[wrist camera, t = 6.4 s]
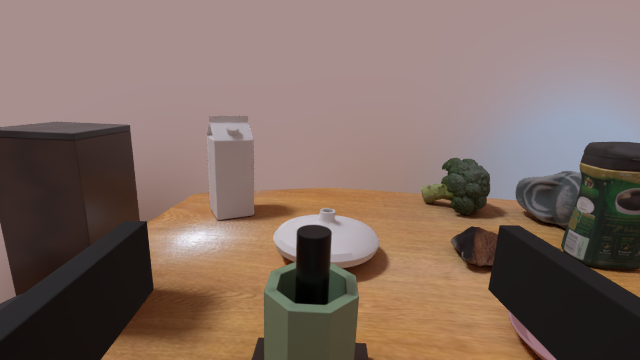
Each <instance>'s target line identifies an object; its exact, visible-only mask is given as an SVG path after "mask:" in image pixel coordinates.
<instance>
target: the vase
mask: <svg viewBox="0 0 640 360" xmlns="http://www.w3.org/2000/svg"><path fill="white" fill-rule="evenodd" d="M305 225H321V226H325V227H327V228H329V229H330V230H331V232H332V240H331V260H330V262H331V263H333V264H335V265H336V266H338V267H340V268H346V267H352V266H356V265H359V264H362V263H364V262H366V261H368V260H369V259H371V258H372V257H373V255H374V254H375V253H376V251H377V249H378V247H379V239H378V237H377V235H376V233H375V232H374V231H373V229H371V228H370V227H369V226H368V225H366V224H364V223H362V222H360V221H357V220H355V219H352V218H347V217H343V216H336V215H335V210H334V209H330V208H323V209H321V210H320V215H306V216H301V217H296V218H293V219H290V220H288V221H286V222H285V223H283V224H282V225H281V226H280V227H279V228H278V229H277V230H276V232H275V233H274V237H273V239H274V242H275V245H276V247H277V250H278V252H279V253H280V254H282V255H283V256H284V257H285V258H287V259H289V260H291V261H293V262H296V238H297V230H298V228H300V227H302V226H305Z"/></svg>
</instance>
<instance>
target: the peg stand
mask: <svg viewBox="0 0 640 360" xmlns="http://www.w3.org/2000/svg"><path fill="white" fill-rule="evenodd" d="M331 240H332V232H331V230H330V229H329V228H327V227H325V226H321V225H305V226H302V227H300V228H298V230H297V238H296V282H295V304H313V305H327V304H328V299H329V279H330V260H331ZM252 360H264V338H258V341H257V344H256V347H255V351H254V354H253V357H252ZM354 360H368V354H367V347H366V344H365V343H355V353H354Z"/></svg>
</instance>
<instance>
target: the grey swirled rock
mask: <svg viewBox="0 0 640 360" xmlns="http://www.w3.org/2000/svg"><path fill="white" fill-rule="evenodd" d="M580 185H581V173H577V172H572V171H563V172H561V173H558V174H555V175H550V176H544V177H529V178H524V179H522V180H521V181H519V183H518V184H517V188H516V199H517V201H518V203H519V204H520V206H522V207H523V208H524V209H525V210H527V211H528V212H529V213H531V214H532V215H534V216H535V217H536V218H538V219H539V220H541V221H543V222H548V223H553V224H557V225H560V226H561V227H563V228H565V229H566V228H567V225H568V223H569V220H570V218H571V215H572V212H573V209H574V206H575V203H576V200H577V197H578V193H579V190H580Z"/></svg>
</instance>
